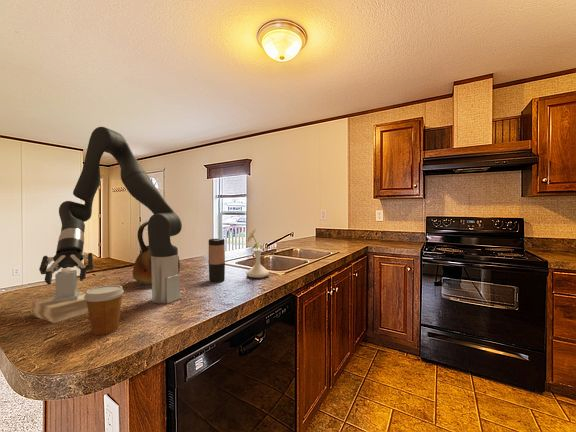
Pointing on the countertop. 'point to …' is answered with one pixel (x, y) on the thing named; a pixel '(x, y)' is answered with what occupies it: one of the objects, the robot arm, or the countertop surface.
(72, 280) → the grey box with knob
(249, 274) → the flower in vase
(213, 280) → the travel mug
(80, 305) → the birch block
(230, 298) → the countertop surface
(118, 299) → the disposable coffee cup
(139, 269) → the ceramic pitcher
